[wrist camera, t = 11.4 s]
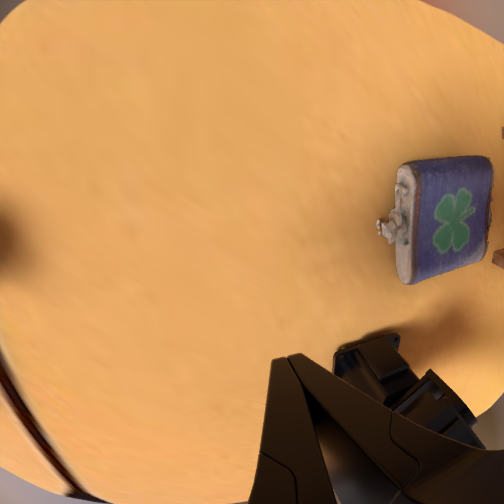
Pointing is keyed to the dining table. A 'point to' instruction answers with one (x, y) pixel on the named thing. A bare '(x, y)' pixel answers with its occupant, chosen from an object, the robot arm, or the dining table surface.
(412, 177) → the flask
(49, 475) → the dining table surface
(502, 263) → the walnut u-shaped fence
